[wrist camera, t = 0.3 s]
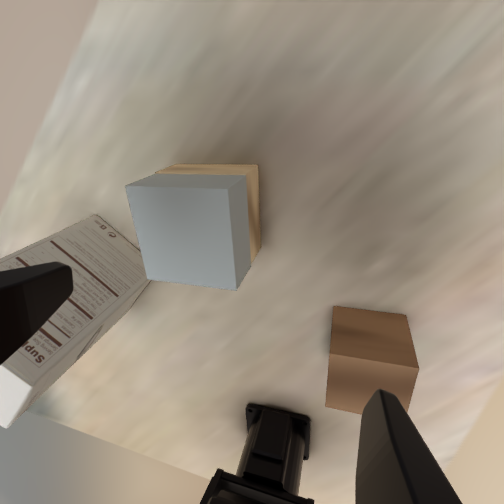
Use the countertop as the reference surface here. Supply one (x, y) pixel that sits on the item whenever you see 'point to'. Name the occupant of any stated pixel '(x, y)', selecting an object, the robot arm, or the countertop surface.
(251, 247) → the tower base
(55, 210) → the countertop surface
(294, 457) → the robot arm
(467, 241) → the countertop surface
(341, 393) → the walnut cube
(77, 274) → the supplement box
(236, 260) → the tower mid
